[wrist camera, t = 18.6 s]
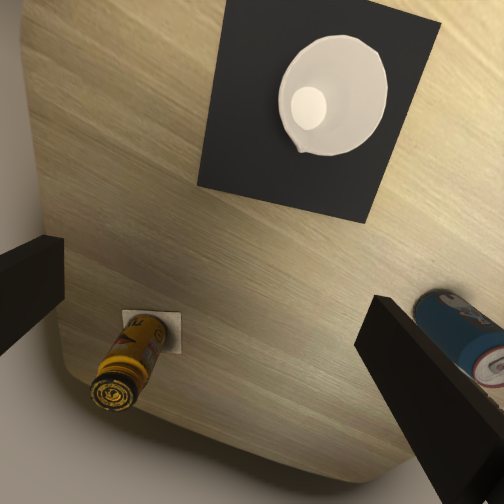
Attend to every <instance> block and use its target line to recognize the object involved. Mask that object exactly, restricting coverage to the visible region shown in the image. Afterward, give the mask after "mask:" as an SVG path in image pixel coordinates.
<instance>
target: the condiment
mask: <svg viewBox="0 0 504 504" xmlns="http://www.w3.org/2000/svg"><path fill="white" fill-rule="evenodd" d="M122 317H123V326H124V329H123V330H122V332H121V333H120V335H119V336H118V338H117V340H116V341H115V343H114V344H113V346H112V347H111V349H110V350H109V352H108V353H107V355H106V356H105V358H104V359H103V361H102V363H101V364H100V366H99V368H98V374H97V376H96V378H95V380H94V381H93V382H92V385H91V387H90V395H91V399H92V400H93V401H94V403H96V405H98V406H99V407H101V408H103V409H105V410H108V411H113V412H121V411H125V410H127V409H129V408H130V407H131V406H132V405H133V404H135V403H136V401H137V398H138V395H139V394H140V392H141V391H142V389H143V388H144V387H145V386H146V385H147V383H148V381H149V378H150V376H151V373H152V371H153V368H154V366H155V363H156V361H157V359H158V356H159V354H160V353H175V354H177V353H178V354H181V348H182V347H181V313H178V312H177V313H175V312H158V311H142V310H122Z"/></svg>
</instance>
